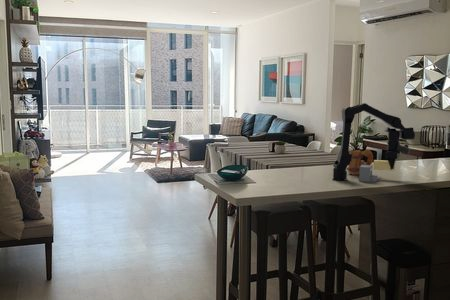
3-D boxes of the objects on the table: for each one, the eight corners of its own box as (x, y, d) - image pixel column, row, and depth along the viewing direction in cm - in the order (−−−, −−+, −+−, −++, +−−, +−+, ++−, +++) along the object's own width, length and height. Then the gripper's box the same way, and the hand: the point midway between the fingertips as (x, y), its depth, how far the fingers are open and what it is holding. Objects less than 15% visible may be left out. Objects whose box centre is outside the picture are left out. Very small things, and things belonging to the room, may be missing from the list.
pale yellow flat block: (373, 169, 244) (373, 160, 243) (374, 168, 246) (374, 160, 246) (394, 170, 239) (395, 161, 239) (395, 170, 241) (395, 161, 241)
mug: (344, 174, 258) (345, 149, 256) (348, 172, 265) (348, 147, 263) (370, 176, 251) (371, 150, 249) (373, 174, 258) (374, 148, 256)
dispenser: (359, 181, 238) (359, 166, 237) (361, 178, 245) (362, 164, 244) (375, 182, 234) (376, 167, 233) (377, 179, 241) (378, 165, 240)
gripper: (408, 142, 227) (407, 172, 229) (410, 139, 244) (409, 167, 246) (385, 141, 232) (384, 170, 234) (389, 138, 249) (388, 165, 250)
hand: (392, 168), depth 241 cm, fingers closed on pale yellow flat block, 2 cm apart
